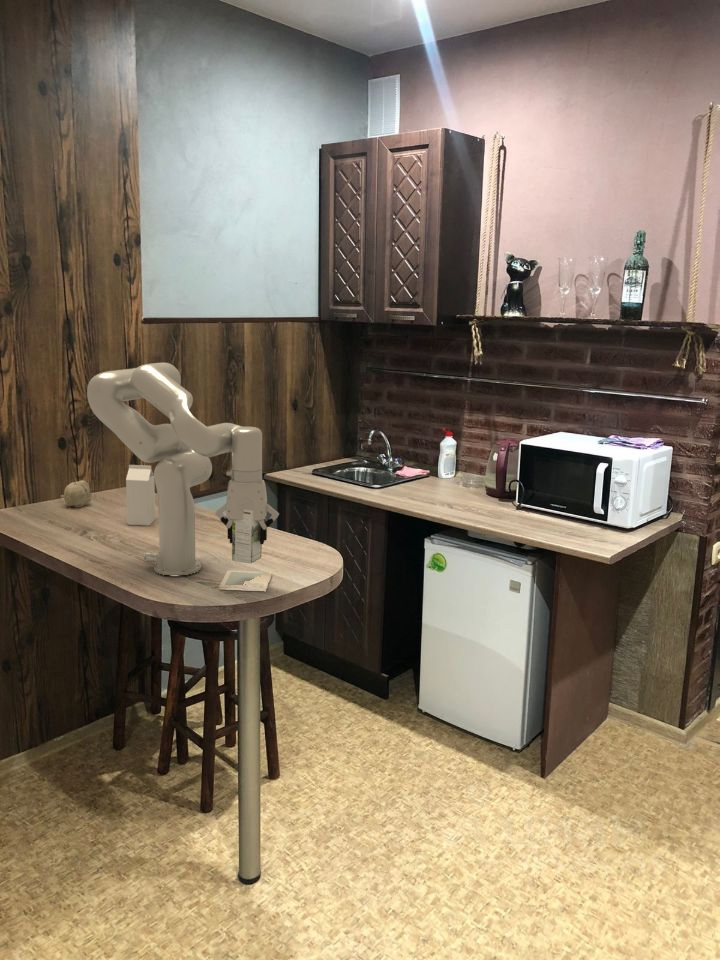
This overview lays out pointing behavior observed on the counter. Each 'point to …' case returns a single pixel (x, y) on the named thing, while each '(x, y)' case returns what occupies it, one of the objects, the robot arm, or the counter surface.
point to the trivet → (239, 577)
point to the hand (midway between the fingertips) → (247, 541)
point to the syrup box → (246, 539)
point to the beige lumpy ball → (77, 494)
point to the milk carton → (140, 495)
